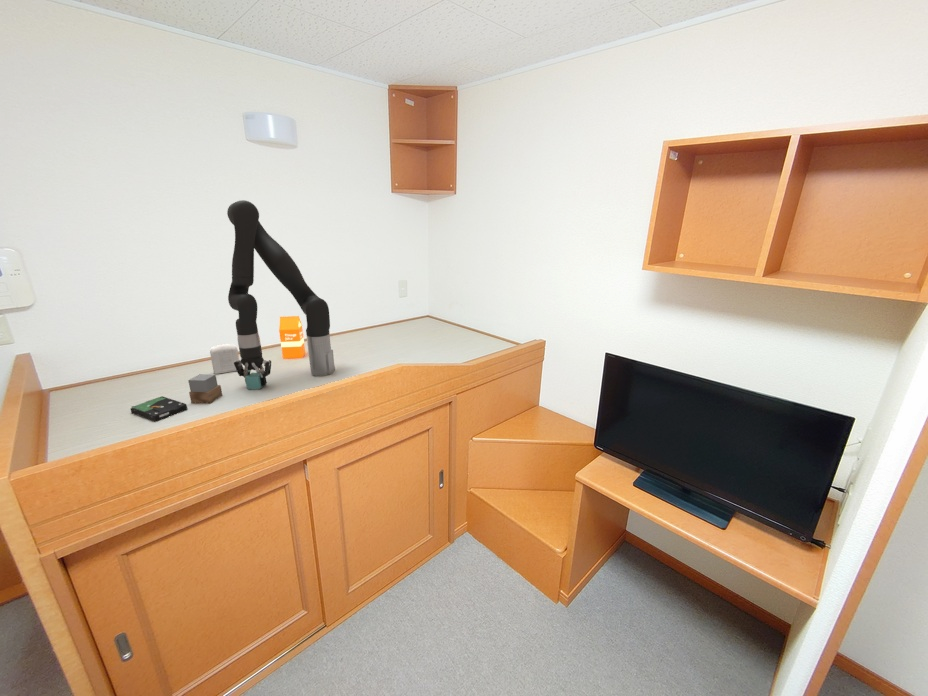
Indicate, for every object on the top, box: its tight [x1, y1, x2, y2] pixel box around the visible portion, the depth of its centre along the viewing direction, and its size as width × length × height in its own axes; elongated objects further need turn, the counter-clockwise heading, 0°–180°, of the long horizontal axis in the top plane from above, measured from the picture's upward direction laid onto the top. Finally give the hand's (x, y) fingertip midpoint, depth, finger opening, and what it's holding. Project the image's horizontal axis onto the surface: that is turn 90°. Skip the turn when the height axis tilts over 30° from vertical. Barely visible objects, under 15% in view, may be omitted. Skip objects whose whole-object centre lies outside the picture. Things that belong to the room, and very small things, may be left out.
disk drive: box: [130, 396, 188, 423], centre depth 135 cm, size 10×3×15 cm
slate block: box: [187, 373, 219, 392], centre depth 143 cm, size 6×6×4 cm
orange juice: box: [278, 315, 306, 360], centre depth 190 cm, size 8×9×20 cm
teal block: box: [244, 372, 264, 390], centre depth 155 cm, size 5×5×5 cm
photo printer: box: [209, 343, 240, 375], centre depth 171 cm, size 10×4×12 cm, turn 123°
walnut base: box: [188, 384, 223, 404], centre depth 144 cm, size 7×7×4 cm
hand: (256, 385), depth 156 cm, fingers closed on teal block, 5 cm apart
